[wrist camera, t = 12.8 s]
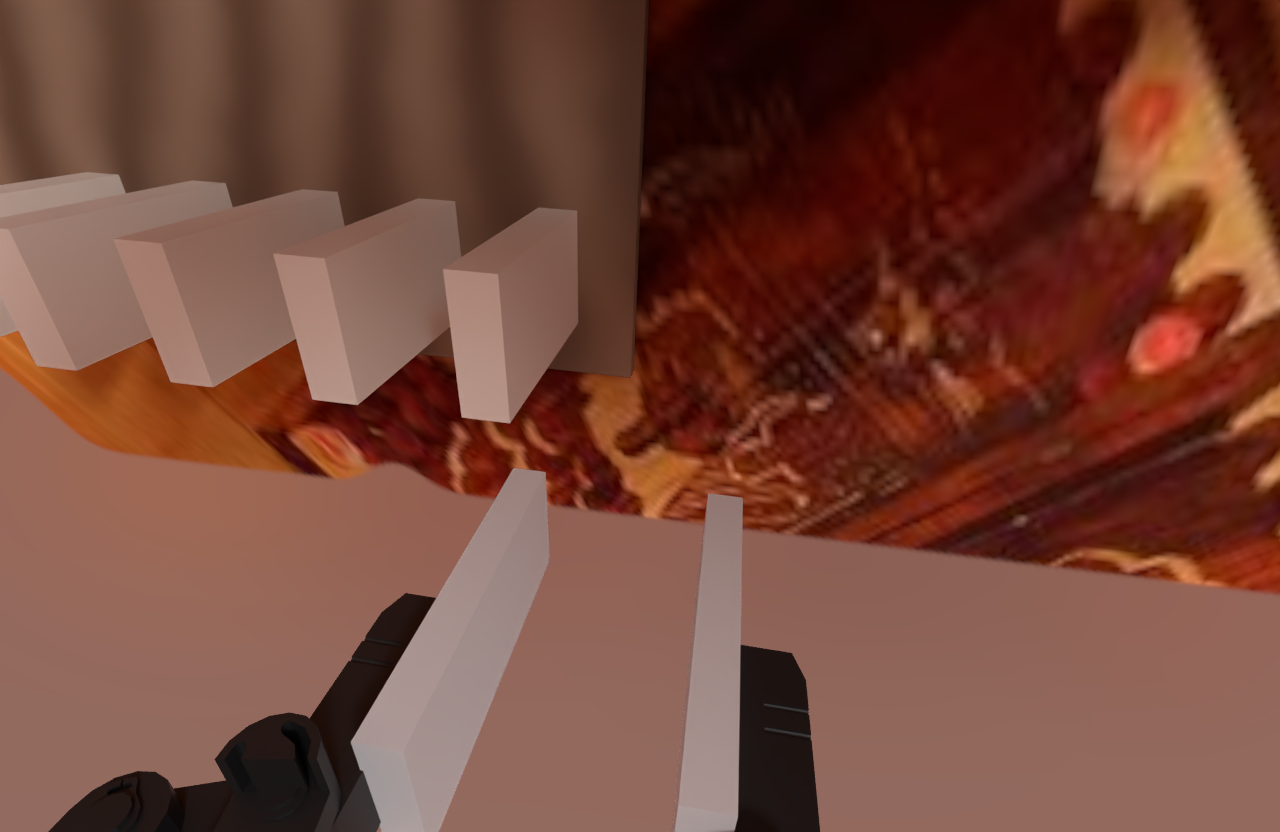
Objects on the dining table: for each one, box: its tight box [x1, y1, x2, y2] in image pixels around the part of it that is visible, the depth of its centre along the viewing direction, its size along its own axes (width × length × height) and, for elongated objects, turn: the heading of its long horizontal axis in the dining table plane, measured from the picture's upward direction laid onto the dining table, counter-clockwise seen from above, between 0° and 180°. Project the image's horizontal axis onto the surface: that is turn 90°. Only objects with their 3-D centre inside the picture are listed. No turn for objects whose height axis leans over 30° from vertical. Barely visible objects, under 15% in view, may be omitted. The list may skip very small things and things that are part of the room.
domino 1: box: [0, 172, 125, 337], centre depth 30 cm, size 2×6×11 cm, turn 178°
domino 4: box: [273, 198, 461, 405], centre depth 28 cm, size 2×6×11 cm, turn 177°
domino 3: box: [113, 189, 344, 387], centre depth 28 cm, size 2×6×11 cm, turn 177°
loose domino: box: [443, 208, 578, 423], centre depth 27 cm, size 2×6×11 cm, turn 177°
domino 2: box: [0, 180, 233, 371], centre depth 29 cm, size 2×6×11 cm, turn 177°
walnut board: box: [0, 0, 649, 378], centre depth 32 cm, size 40×20×1 cm, turn 87°
